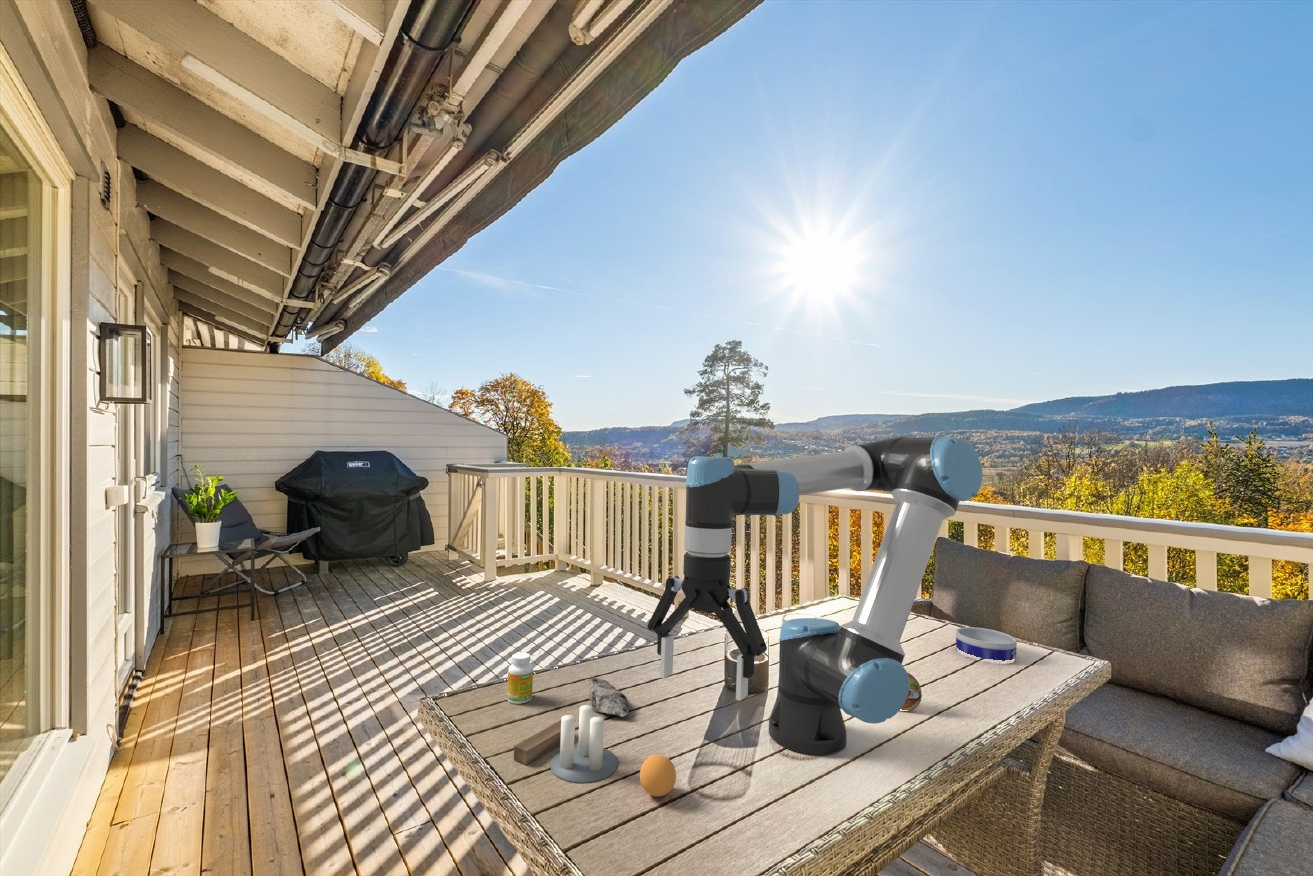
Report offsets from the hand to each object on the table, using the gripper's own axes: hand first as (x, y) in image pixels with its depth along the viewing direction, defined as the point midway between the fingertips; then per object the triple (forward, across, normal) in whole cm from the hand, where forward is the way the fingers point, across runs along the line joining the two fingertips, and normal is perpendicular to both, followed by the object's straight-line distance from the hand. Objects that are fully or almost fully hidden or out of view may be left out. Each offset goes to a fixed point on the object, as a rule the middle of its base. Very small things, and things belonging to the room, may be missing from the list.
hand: (702, 686), depth 93 cm
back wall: (+19, +32, +1) cm, 38 cm away
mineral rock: (+20, +34, -20) cm, 44 cm away
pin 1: (+19, +25, +3) cm, 32 cm away
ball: (+16, +7, +1) cm, 18 cm away
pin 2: (+19, +25, -2) cm, 31 cm away
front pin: (+19, +20, +1) cm, 28 cm away
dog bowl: (+19, -33, -112) cm, 119 cm away
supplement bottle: (+20, +51, -11) cm, 56 cm away
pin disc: (+19, +23, +1) cm, 30 cm away
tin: (+19, -16, -58) cm, 64 cm away
